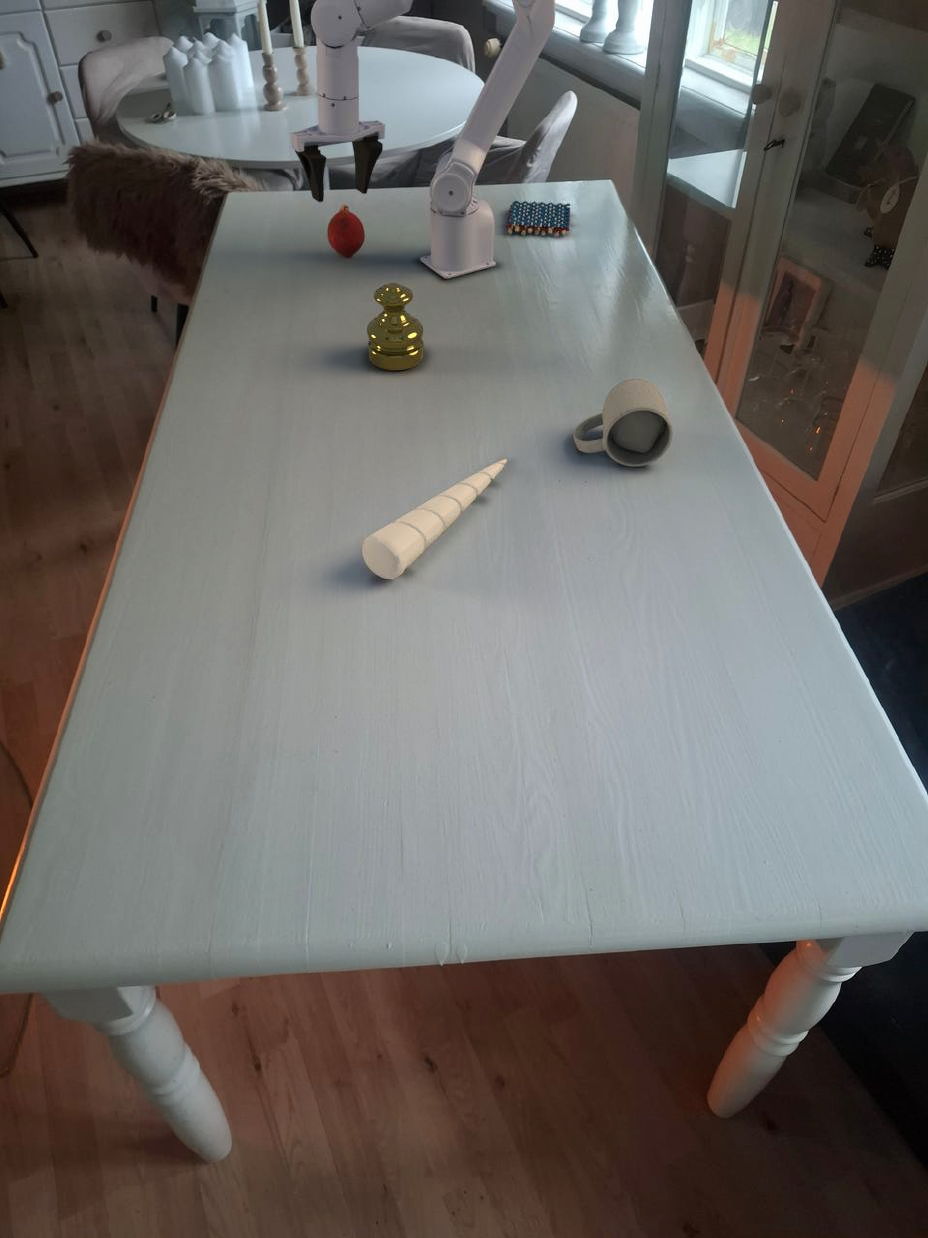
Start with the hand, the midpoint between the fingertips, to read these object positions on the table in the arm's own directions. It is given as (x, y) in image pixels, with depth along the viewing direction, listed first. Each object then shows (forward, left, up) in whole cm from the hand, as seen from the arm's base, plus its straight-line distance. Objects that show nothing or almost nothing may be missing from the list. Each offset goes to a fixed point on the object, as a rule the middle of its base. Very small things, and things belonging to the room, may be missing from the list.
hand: (339, 195), depth 130 cm
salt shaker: (+8, +31, -10) cm, 33 cm away
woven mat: (-35, +5, -10) cm, 36 cm away
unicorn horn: (+21, +63, -10) cm, 67 cm away
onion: (-1, 0, -10) cm, 10 cm away
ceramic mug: (-4, +63, -10) cm, 64 cm away
